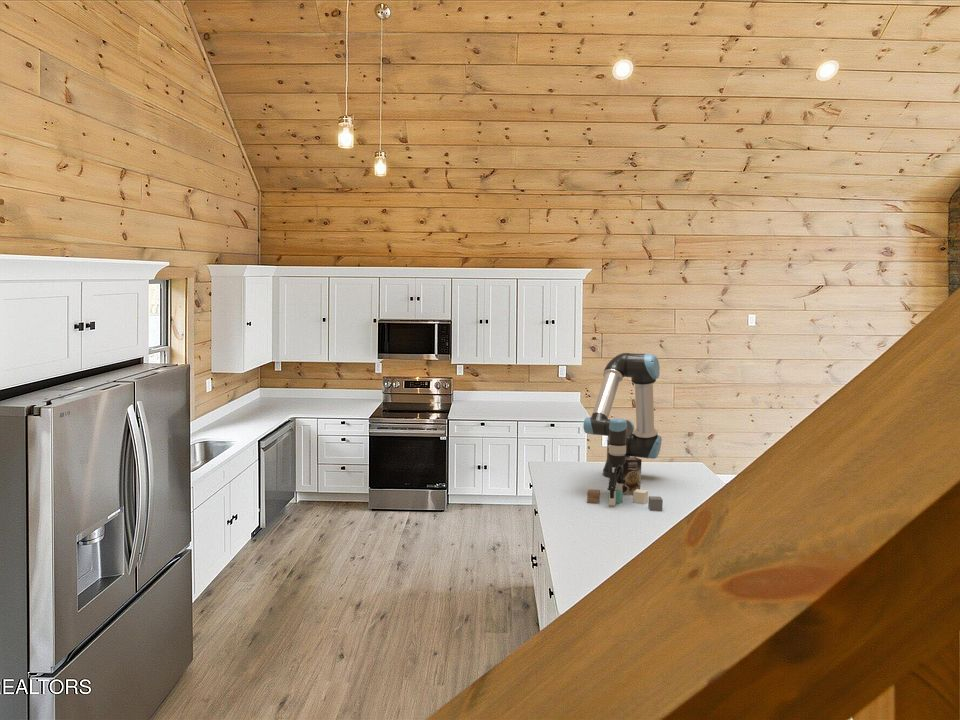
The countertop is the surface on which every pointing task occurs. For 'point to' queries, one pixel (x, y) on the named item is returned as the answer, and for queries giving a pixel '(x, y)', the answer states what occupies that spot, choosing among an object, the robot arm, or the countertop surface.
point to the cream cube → (640, 496)
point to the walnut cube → (593, 496)
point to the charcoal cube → (655, 503)
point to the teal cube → (619, 496)
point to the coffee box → (631, 475)
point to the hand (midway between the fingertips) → (615, 501)
